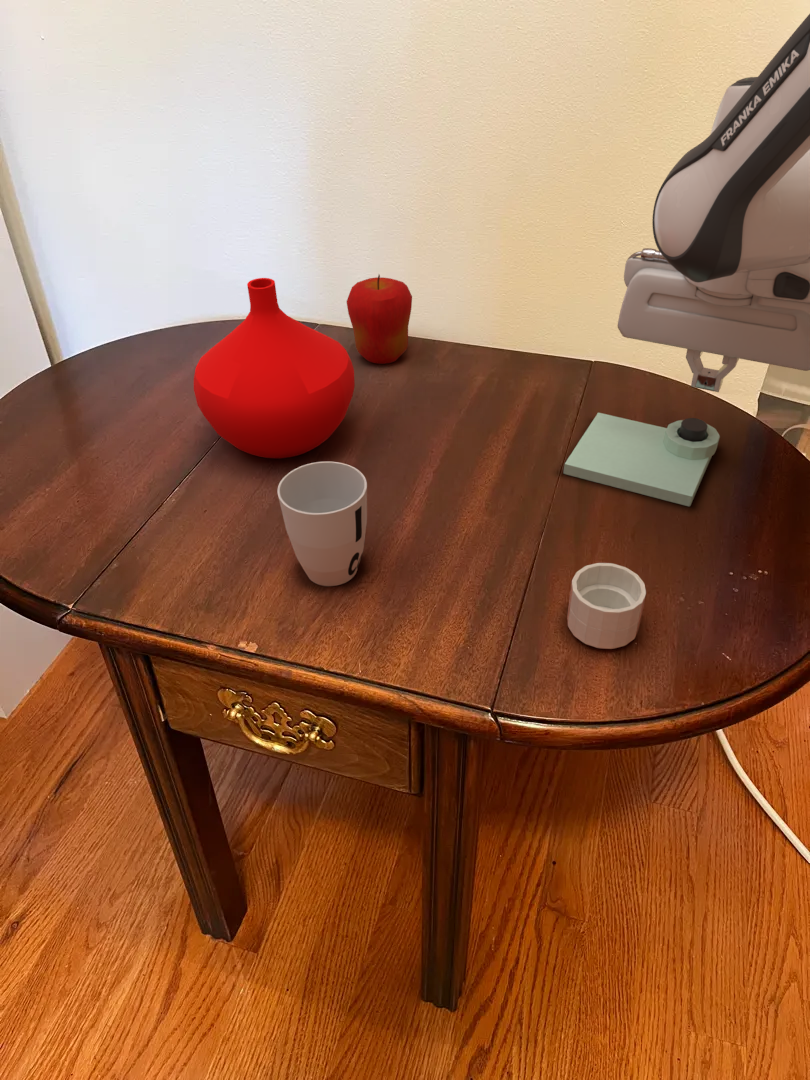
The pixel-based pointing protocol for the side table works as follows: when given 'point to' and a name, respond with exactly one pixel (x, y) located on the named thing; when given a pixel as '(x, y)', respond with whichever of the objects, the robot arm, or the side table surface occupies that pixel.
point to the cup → (325, 519)
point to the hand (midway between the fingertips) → (705, 387)
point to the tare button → (693, 430)
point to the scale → (642, 458)
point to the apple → (380, 318)
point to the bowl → (605, 605)
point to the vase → (274, 381)
